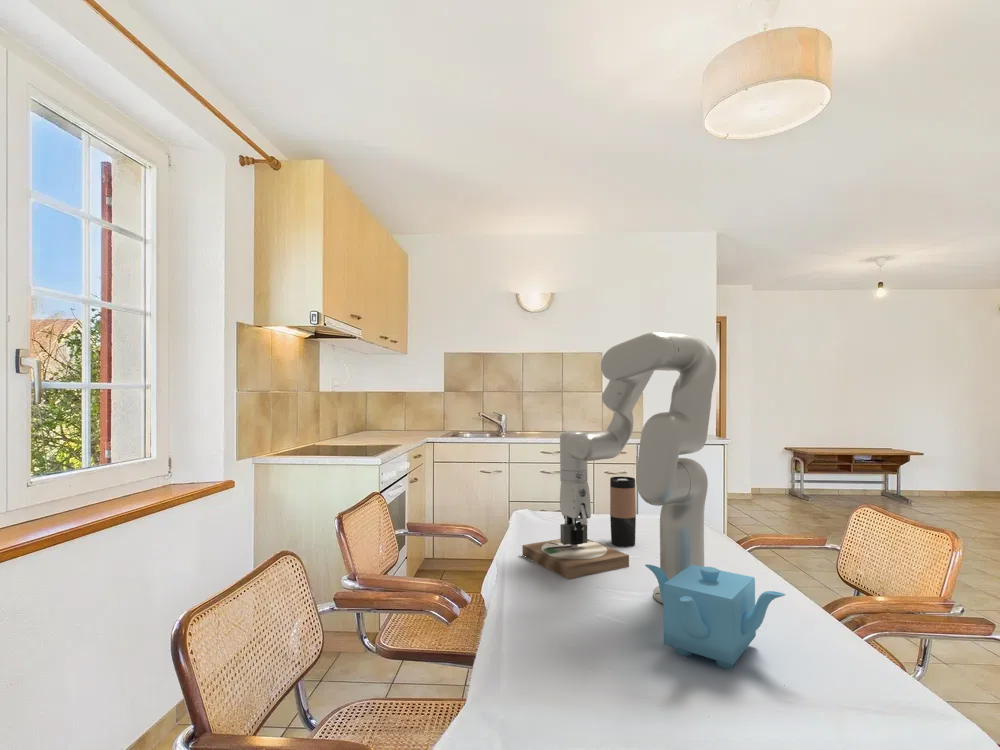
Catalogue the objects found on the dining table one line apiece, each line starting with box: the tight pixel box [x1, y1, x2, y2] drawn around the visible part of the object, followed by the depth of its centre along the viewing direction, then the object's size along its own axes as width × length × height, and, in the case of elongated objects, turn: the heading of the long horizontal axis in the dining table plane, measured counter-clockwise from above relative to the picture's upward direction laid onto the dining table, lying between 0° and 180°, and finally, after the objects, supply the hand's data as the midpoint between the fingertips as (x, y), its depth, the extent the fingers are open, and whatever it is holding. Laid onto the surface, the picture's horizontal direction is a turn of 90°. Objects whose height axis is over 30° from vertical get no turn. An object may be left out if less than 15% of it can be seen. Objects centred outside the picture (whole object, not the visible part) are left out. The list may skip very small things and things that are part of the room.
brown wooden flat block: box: [522, 538, 630, 580], centre depth 150 cm, size 22×20×4 cm
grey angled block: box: [547, 522, 588, 550], centre depth 150 cm, size 12×2×6 cm, turn 107°
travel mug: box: [609, 475, 637, 548], centre depth 167 cm, size 8×8×20 cm
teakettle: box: [644, 564, 786, 670], centre depth 99 cm, size 19×19×15 cm
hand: (574, 541), depth 150 cm, fingers closed
